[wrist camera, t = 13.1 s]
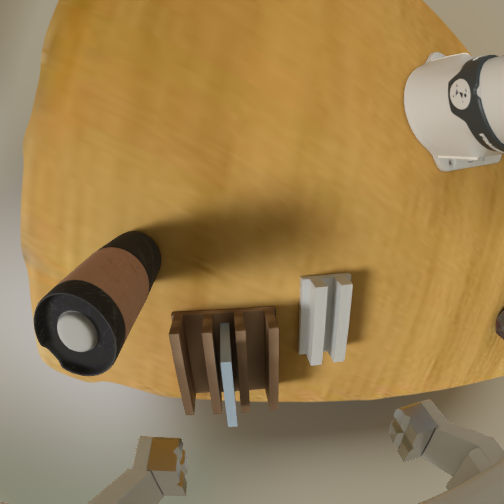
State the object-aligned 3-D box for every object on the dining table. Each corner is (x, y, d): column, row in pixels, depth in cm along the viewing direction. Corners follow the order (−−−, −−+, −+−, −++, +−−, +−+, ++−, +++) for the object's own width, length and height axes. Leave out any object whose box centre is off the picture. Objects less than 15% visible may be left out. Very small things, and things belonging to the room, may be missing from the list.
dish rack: (274, 305, 43) (282, 327, 37) (274, 383, 47) (280, 409, 41) (172, 312, 42) (165, 334, 36) (186, 389, 46) (183, 415, 40)
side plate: (229, 322, 42) (231, 361, 33) (234, 384, 45) (237, 426, 36) (220, 323, 42) (220, 362, 33) (226, 384, 45) (228, 427, 36)
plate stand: (348, 272, 42) (359, 283, 39) (341, 345, 46) (350, 359, 42) (300, 276, 42) (307, 288, 38) (297, 351, 45) (303, 366, 41)
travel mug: (165, 232, 39) (116, 300, 19) (161, 288, 41) (122, 385, 22) (109, 225, 38) (26, 283, 18) (108, 280, 40) (40, 366, 21)
